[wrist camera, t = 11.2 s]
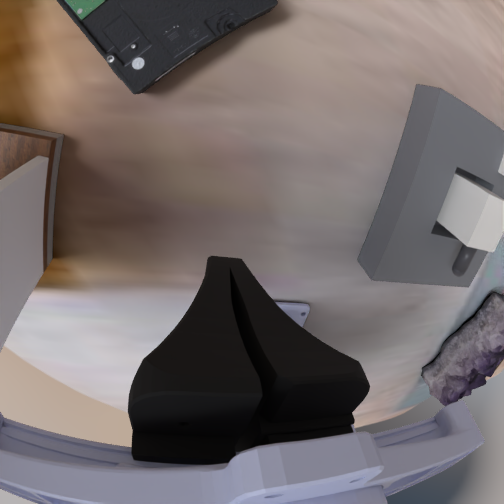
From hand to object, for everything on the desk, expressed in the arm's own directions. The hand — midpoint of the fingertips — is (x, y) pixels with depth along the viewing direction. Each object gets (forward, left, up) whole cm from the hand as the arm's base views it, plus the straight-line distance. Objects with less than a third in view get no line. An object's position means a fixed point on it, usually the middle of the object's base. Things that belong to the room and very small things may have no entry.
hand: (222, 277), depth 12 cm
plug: (+2, -20, -10) cm, 23 cm away
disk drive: (+15, +7, -11) cm, 20 cm away
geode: (-15, -40, -11) cm, 44 cm away
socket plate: (+4, -20, -10) cm, 23 cm away
